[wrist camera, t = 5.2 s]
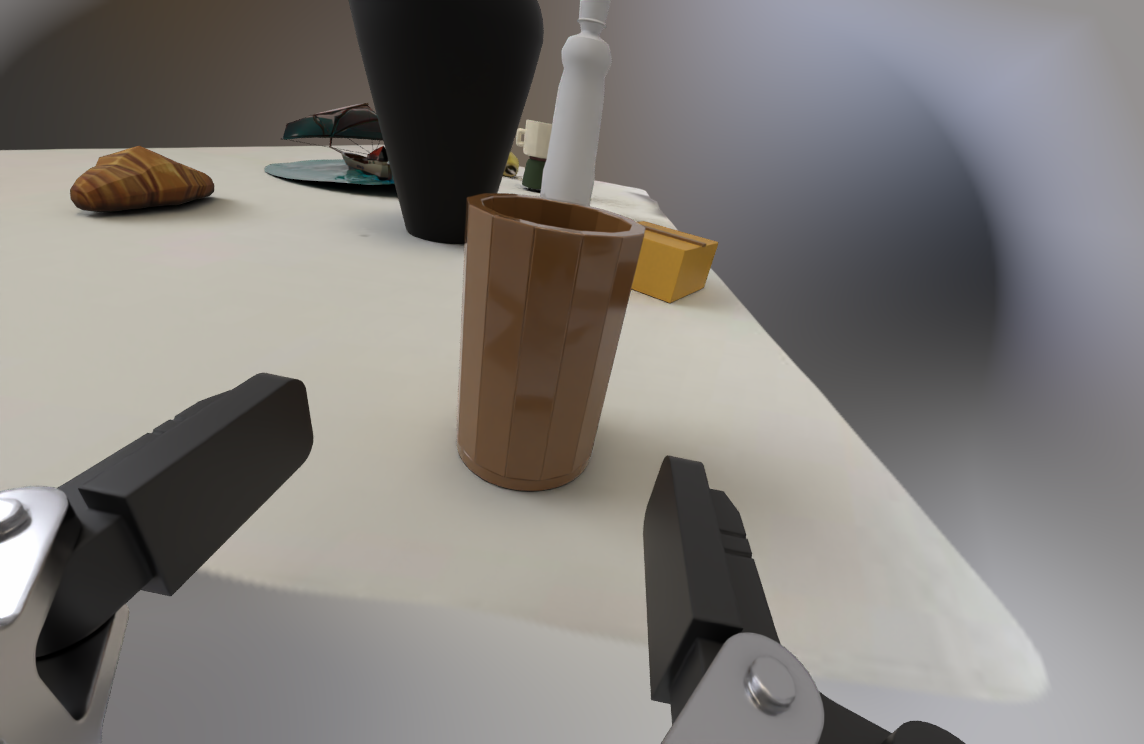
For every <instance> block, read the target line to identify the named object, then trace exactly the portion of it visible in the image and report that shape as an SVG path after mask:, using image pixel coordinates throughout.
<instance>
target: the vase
mask: <svg viewBox="0 0 1144 744" xmlns="http://www.w3.org/2000/svg"><path fill="white" fill-rule="evenodd" d="M349 4H350V9H351V13H352V18H353V22H354V26H355V31H356V35H357V39H358V44H359V47H360V51H361V55H362V59H363V63H364V67H365V71H366V75H367V78H368V82H369V86H370V90H371V94H372V98H373V102H374V105H375V109H376V113H377V117H378V121H379V125H380V129H381V133H382V137H383V140H384V144H385V148H386V152H387V156H388V160H389V164H390V168H391V171H392V175H393V179H394V183H395V187H396V191H397V195H398V199H399V202H400V206H401V210H402V214H403V218H404V222H405V226H406V230H407V231H408V233H410V234H411V235H413V236H415V237H419V238H422V239H425V240H430V241H435V242H442V243H450V244H465V225H466V202H467V198H468V197H471V196H475V195H479V194H484V193H489V194H497V192H498V189H499V186H500V183H501V180H502V176H503V173H504V170H505V167H506V164H507V160H508V157H509V154H510V151H511V147H512V144H513V141H514V138H515V135H516V131H517V128H518V125H519V122H520V118H521V115H522V112H523V109H524V106H525V102H526V99H527V96H528V93H529V90H530V86H531V83H532V80H533V76H534V73H535V69H536V65H537V62H538V58H539V55H540V51H541V47H542V44H543V33H544V32H543V31H544V30H543V19H542V14H541V9H540V6H539V4H538V1H537V0H349Z"/></svg>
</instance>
